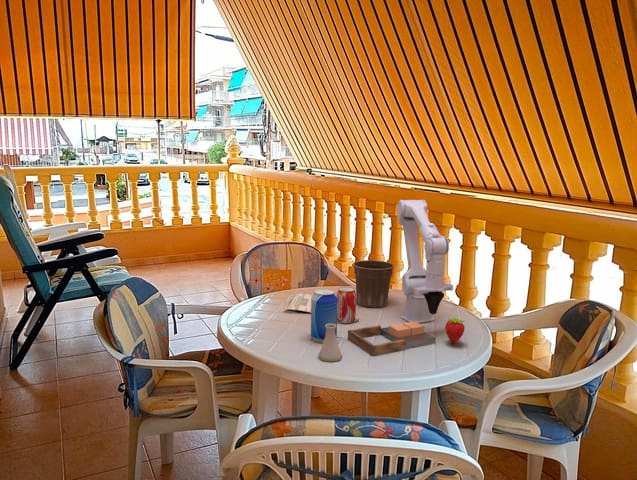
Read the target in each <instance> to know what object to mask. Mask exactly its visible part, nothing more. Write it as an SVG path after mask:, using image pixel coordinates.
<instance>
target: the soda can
mask: <svg viewBox="0 0 637 480" xmlns="http://www.w3.org/2000/svg"><path fill="white" fill-rule="evenodd" d="M336 296H337V299H338V301H337V322H339V323H341V324H352V323H353V322H355V321H356V314H357V297H356V288H354V287H351V286H340V287H338V290H337V292H336Z"/></svg>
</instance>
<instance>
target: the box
mask: <svg viewBox="0 0 637 480" xmlns="http://www.w3.org/2000/svg"><path fill="white" fill-rule="evenodd" d="M381 328H382V326H381V325H379V324H378V325H373V326H365V327H360V328H355V329H348V330H347V340H348V341H349V342H352V343H353V344H354V345H356V346H357V347H359V348H360V349H362V350H363V351H364V352H365V353H367V354H369V355H370V356H372V357H376V356H379V355H387V354H391V353H396V352H401V351H405V350H407V349H406V340H398V341H393V342H392V341H389V342H382V343H378V344H373V343H371V342H370V341H369V340H367V339H365V338H368V337H375V336H382V335H381Z"/></svg>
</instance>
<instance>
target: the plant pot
mask: <svg viewBox="0 0 637 480" xmlns="http://www.w3.org/2000/svg"><path fill="white" fill-rule="evenodd" d="M352 265H353V270H354V271H353V272H354V276H355V292H356V305H358V306H361V307H364V308H369V307H372V309H373V308H376V309H377V308H383V307H386V306H387V305H388V301H389V300H388V299H389V293H390V292H389V291H390V286H391V280H392V279H391V278H392V276H393V270H394V268H395V265H394V263H392V262H389V261H383V260H382V261H381V260H375V259H373V260H371V259H370V260H368V259H366V260H357V261H355V262H353V263H352Z"/></svg>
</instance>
